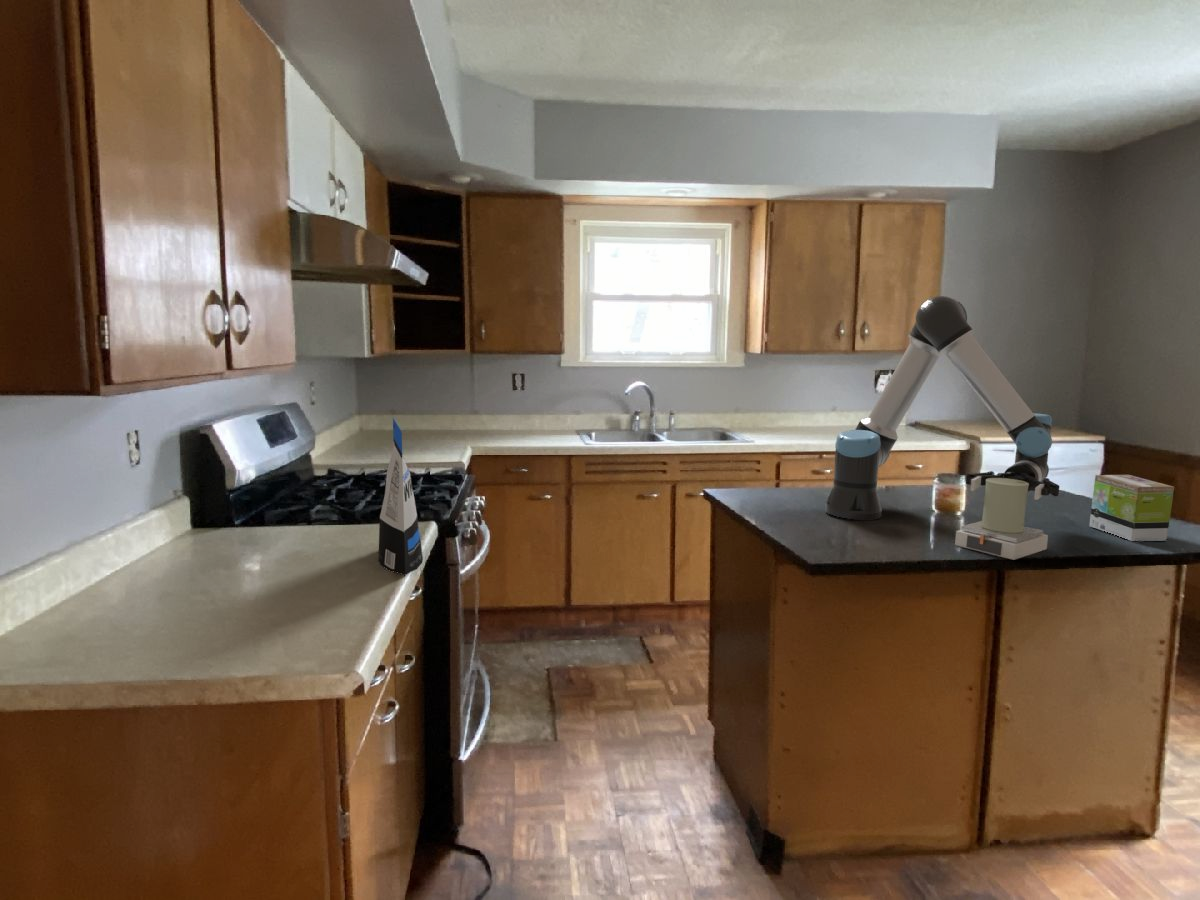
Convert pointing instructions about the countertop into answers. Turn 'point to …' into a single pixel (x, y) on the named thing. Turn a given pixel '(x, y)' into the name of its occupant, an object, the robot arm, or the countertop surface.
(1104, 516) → the tea box
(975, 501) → the countertop surface
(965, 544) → the scale
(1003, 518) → the can
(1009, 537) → the scale pan
